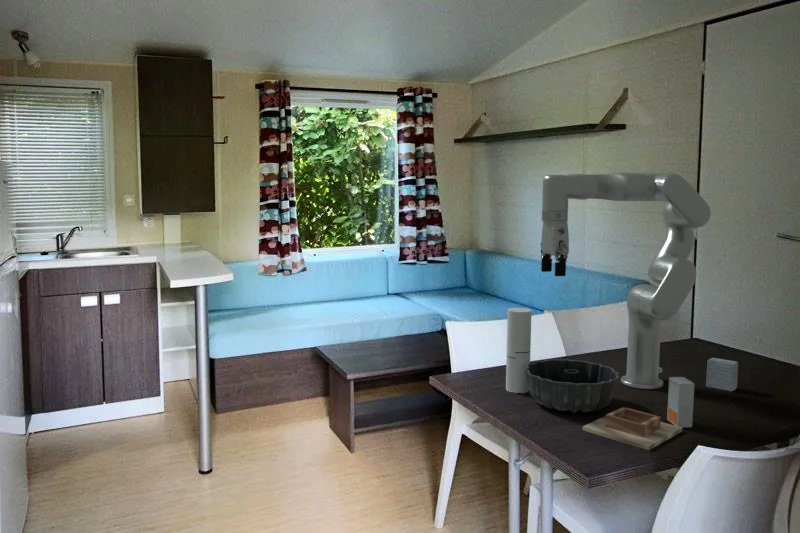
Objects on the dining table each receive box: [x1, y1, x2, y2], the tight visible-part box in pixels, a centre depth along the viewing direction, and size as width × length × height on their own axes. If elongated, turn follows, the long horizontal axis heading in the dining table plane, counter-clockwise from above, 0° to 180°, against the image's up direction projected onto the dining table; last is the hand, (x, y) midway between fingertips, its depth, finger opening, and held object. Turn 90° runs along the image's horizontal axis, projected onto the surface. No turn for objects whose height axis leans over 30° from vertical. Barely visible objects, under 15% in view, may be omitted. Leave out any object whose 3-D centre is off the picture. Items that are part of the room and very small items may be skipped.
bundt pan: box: [524, 358, 620, 414], centre depth 197 cm, size 26×26×10 cm
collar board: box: [582, 406, 683, 451], centre depth 176 cm, size 18×18×4 cm
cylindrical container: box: [505, 307, 533, 394], centre depth 208 cm, size 7×7×25 cm
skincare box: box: [666, 376, 695, 429], centre depth 180 cm, size 6×4×12 cm
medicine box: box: [705, 357, 739, 392], centre depth 211 cm, size 8×4×9 cm, turn 47°
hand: (553, 273), depth 205 cm, fingers open, 9 cm apart
